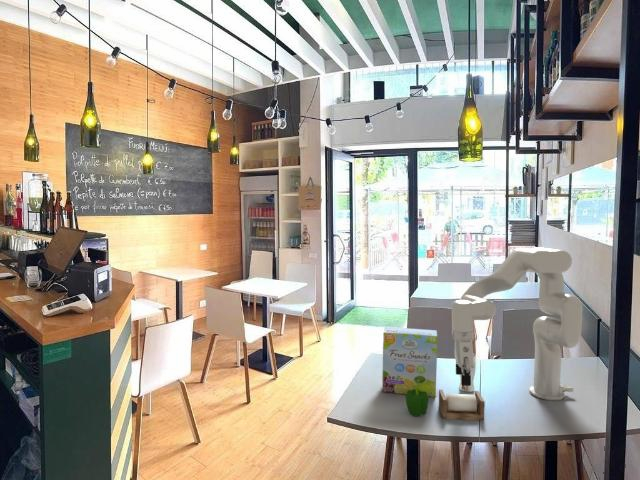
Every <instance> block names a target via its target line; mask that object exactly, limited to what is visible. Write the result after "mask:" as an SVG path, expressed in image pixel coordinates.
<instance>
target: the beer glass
mask: <svg viewBox="0 0 640 480" xmlns="http://www.w3.org/2000/svg"><path fill="white" fill-rule="evenodd" d="M473 365H474V367H473V368H471V367H470V371H471V386H462V385H461V375H459V387H458V389H459V391H461V392H464V393H474V392H475V385H474V379H475V375H476V372H477V371H476V370H477V354H476V353H474V352H473ZM465 370H466V369H465Z"/></svg>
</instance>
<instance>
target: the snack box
mask: <svg viewBox="0 0 640 480" xmlns="http://www.w3.org/2000/svg"><path fill="white" fill-rule="evenodd" d="M437 361H438V331H437V329H436V330H435V329H434V330H433V329H423V328H422V329H421V328H406V327H391V326H384V331H383V342H382V375H381V377H382V379H381V380H382V383H381V384H382V393H391V394H399V395H406V394H407V392H408V390H414V389H415V387H413V385H416V386H417V388H418V390H420V391H421V392H422V391H424V392H426V393H427V395H428V398H429V397H430V398H436V396H437V393H436V392H437V390H436V389H437V369H438V368H437V366H438V365H437V364H438V362H437Z"/></svg>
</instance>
